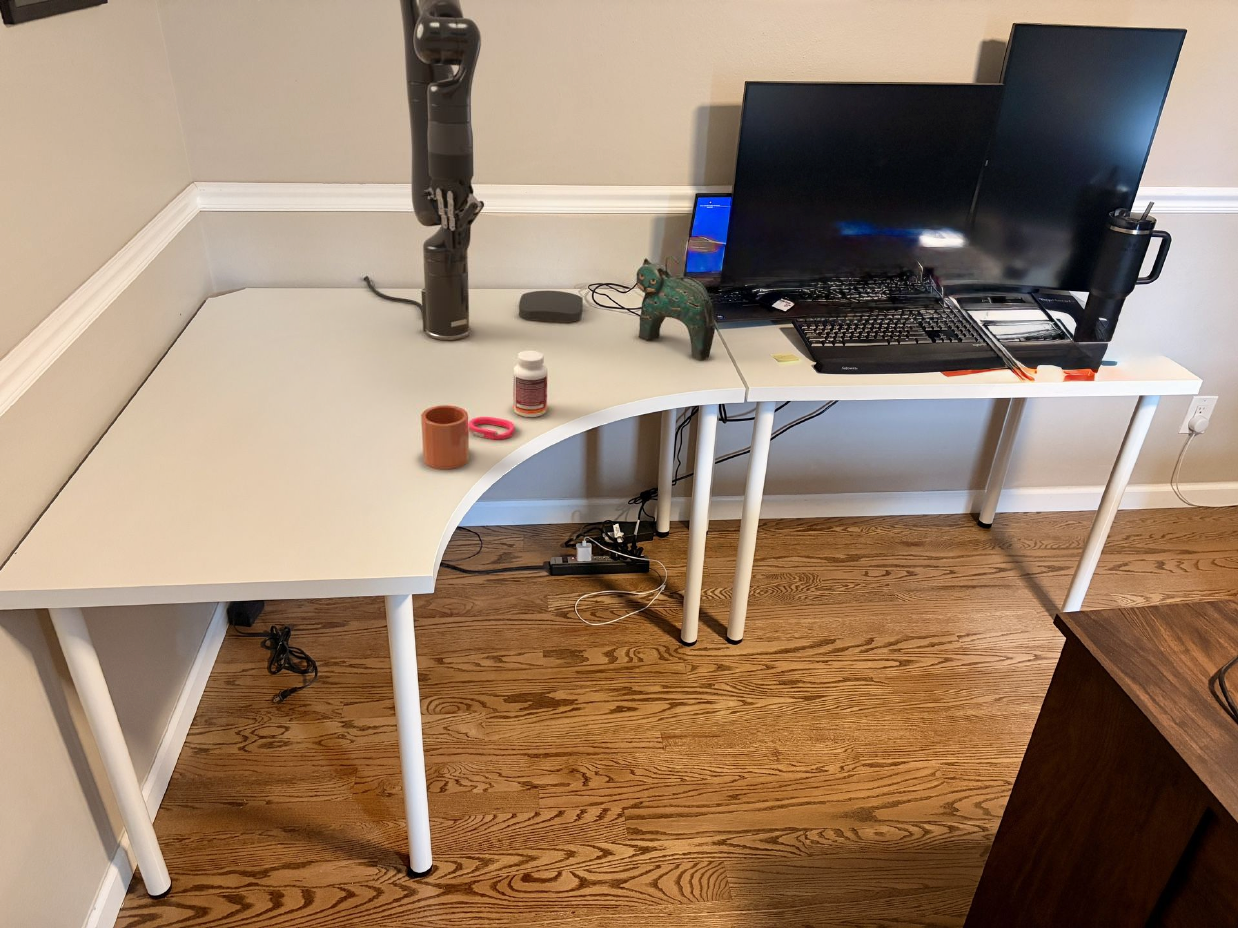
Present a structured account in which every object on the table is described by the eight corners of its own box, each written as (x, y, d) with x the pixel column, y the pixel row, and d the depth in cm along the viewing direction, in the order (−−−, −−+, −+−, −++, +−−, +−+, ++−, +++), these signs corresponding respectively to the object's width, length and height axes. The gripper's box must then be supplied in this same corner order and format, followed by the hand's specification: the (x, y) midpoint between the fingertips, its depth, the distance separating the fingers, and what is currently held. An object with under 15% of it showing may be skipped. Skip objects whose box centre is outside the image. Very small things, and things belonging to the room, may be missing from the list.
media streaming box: (580, 324, 208) (581, 312, 206) (516, 320, 208) (516, 308, 206) (583, 303, 221) (583, 291, 219) (523, 299, 220) (523, 287, 219)
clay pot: (414, 460, 149) (411, 416, 145) (444, 443, 155) (442, 401, 151) (448, 474, 146) (446, 430, 142) (478, 456, 151) (477, 413, 147)
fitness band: (463, 433, 158) (462, 425, 157) (477, 419, 163) (477, 412, 162) (505, 442, 156) (505, 434, 155) (519, 428, 161) (519, 420, 160)
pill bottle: (552, 414, 167) (554, 358, 161) (523, 421, 164) (523, 364, 158) (536, 401, 171) (537, 346, 166) (507, 407, 168) (507, 352, 163)
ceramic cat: (629, 336, 203) (636, 248, 193) (648, 330, 207) (655, 243, 198) (699, 363, 192) (709, 272, 182) (717, 356, 196) (728, 266, 186)
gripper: (495, 151, 153) (496, 252, 161) (436, 140, 159) (439, 238, 167) (466, 157, 147) (468, 262, 156) (405, 145, 153) (411, 246, 161)
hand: (453, 249), depth 161 cm, fingers closed
